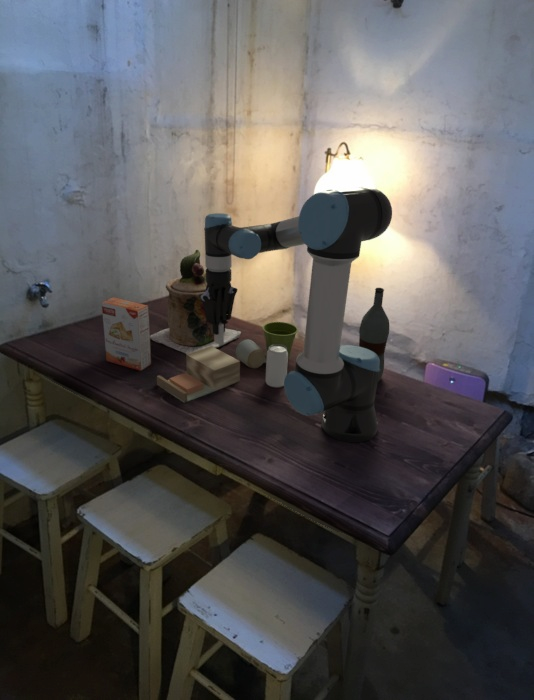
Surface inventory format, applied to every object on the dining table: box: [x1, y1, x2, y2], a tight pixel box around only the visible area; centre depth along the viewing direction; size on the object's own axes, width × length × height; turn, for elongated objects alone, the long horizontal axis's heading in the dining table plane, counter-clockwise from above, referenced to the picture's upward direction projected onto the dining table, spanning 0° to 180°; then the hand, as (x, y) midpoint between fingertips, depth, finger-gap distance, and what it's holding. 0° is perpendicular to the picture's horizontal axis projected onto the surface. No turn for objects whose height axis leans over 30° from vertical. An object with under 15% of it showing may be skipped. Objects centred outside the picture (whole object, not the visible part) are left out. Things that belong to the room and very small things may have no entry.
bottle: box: [358, 287, 390, 383], centre depth 178 cm, size 9×9×30 cm
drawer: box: [156, 374, 215, 404], centre depth 172 cm, size 14×11×3 cm
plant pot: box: [262, 321, 299, 361], centre depth 192 cm, size 12×12×11 cm
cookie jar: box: [150, 249, 242, 355], centre depth 200 cm, size 25×25×32 cm
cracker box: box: [101, 297, 152, 372], centre depth 182 cm, size 14×6×21 cm, turn 64°
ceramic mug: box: [235, 339, 267, 369], centre depth 188 cm, size 11×8×8 cm
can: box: [265, 345, 289, 389], centre depth 175 cm, size 6×6×12 cm
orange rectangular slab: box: [168, 372, 204, 395], centre depth 172 cm, size 9×6×2 cm, turn 44°
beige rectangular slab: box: [185, 346, 241, 392], centre depth 178 cm, size 14×10×7 cm
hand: (219, 342), depth 175 cm, fingers closed
